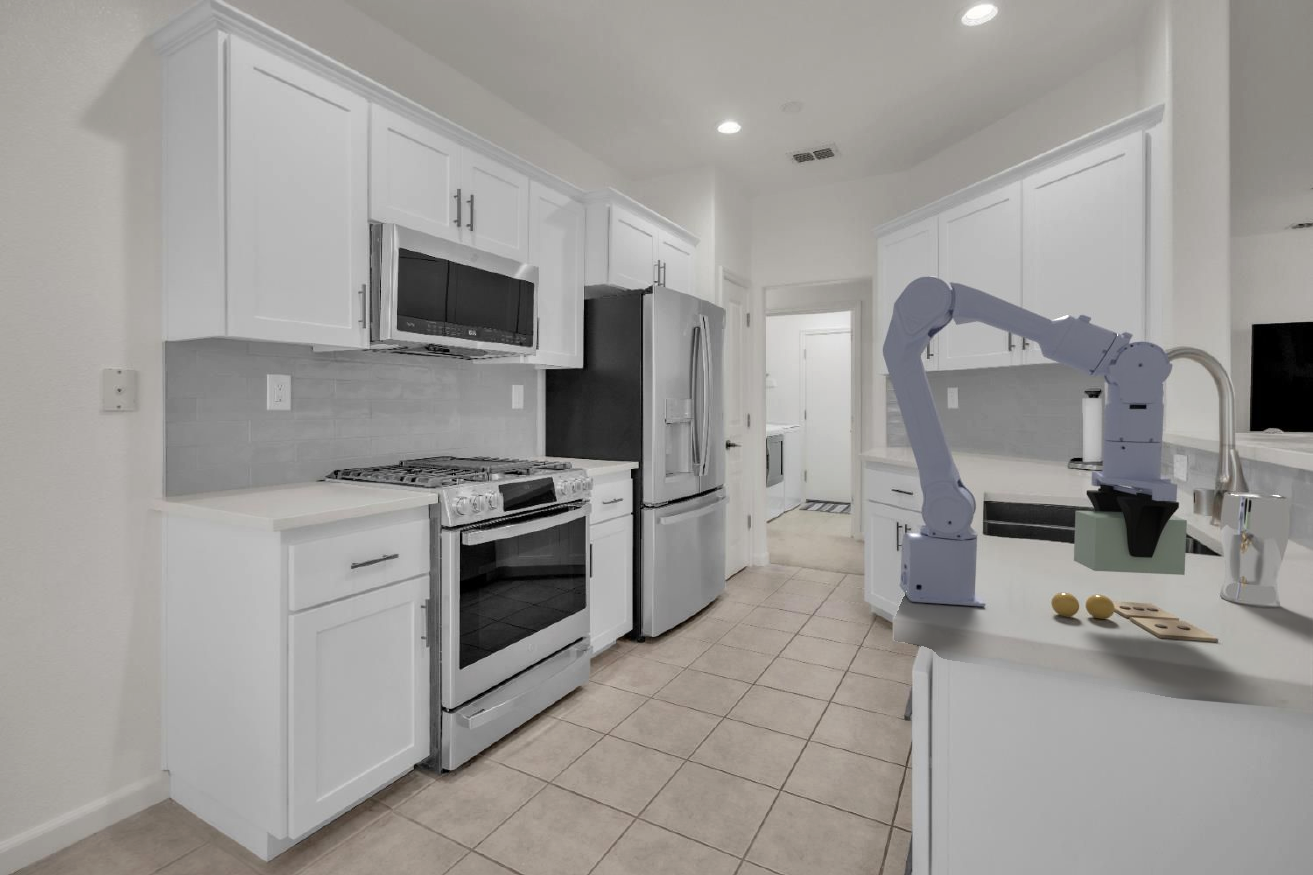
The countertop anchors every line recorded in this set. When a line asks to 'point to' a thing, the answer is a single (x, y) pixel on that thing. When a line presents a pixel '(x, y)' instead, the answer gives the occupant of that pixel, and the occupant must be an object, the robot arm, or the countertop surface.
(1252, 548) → the beer glass
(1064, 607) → the marble
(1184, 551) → the pale green block
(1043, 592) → the countertop surface
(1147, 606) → the pad three
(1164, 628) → the pad two
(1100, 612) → the marble
